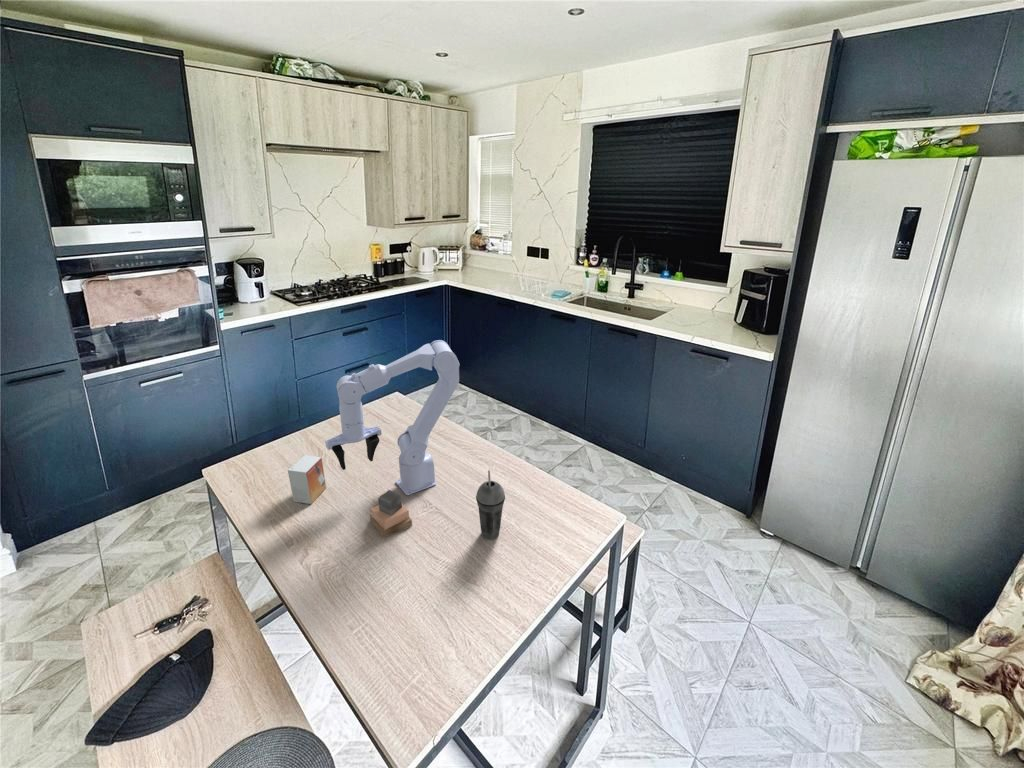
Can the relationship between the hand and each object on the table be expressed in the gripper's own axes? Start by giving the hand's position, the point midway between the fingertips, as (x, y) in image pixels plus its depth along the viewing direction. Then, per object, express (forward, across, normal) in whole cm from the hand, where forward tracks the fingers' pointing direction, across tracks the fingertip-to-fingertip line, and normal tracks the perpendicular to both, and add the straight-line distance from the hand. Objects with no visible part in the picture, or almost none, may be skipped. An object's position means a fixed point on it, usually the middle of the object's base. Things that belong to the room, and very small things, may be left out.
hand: (356, 463), depth 136 cm
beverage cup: (+10, -22, +34) cm, 42 cm away
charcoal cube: (+6, -2, +16) cm, 17 cm away
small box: (+11, +12, -8) cm, 18 cm away
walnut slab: (+11, -2, +16) cm, 20 cm away
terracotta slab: (+8, -2, +16) cm, 18 cm away
